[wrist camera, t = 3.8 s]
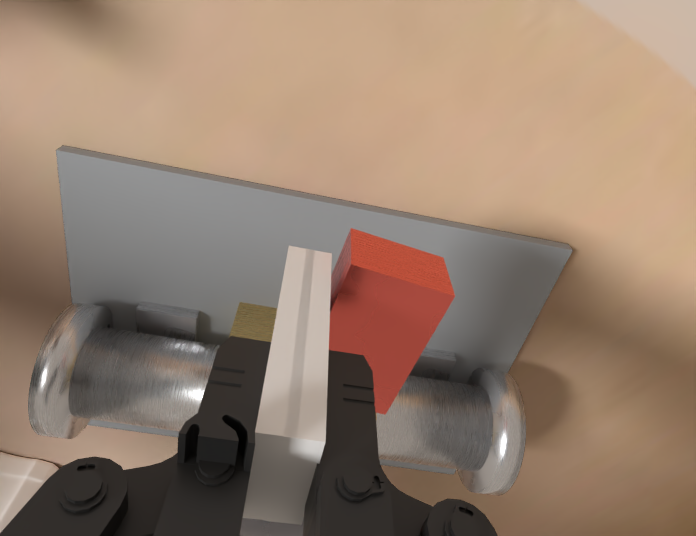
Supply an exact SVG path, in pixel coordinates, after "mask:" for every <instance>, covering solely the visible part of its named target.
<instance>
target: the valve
mask: <svg viewBox="0 0 696 536" xmlns="http://www.w3.org/2000/svg"><path fill="white" fill-rule="evenodd" d="M276 314H277V308H273V307H267V306H261V305H255V304H249V303H243V302H239V306H238V309H237V312H236V315H235V319H234V322H233V325H232V329H231V332H230V335H229V337H230V336H235V337H241V338H248V339H254V340H261V341H267V342H271V341H272V336H273V330H274V325H275V319H276ZM198 326H199V310H193V309H187V308H181V307H175V306H169V305H163V304H157V303H151V302H145V301H141V302H140V303H139V305H138V307H137V309H136V329H137V332H132V331H126V330H119V329H113V324H112V313H111V311H110V310H109V308H107V307H103V306H97V305H90V304H84V303H74V304H71V305H70V306H68V307H67V308H66V309H65V310H64V311H62V313H61V314H60V315H59V316H58V317H57V319H56V320H55V322H54V323H53V325H52V326H51V328H50V330H49V331H48V333H47V335H46V337H45V339H44V342H43V344H42V346H41V349H40V351H39V354H38V356H37V360H36V363H35V366H34V370H33V374H32V378H31V383H30V389H29V399H28V413H29V420H30V424H31V426H32V428H33V430H34V431H35V433H37V434H38V435H42V436H50V437H57V438H65V439H72V438H74V437H76V436H77V435H79V434H80V433H81V432H82V431H83V429H84V428H85V427H86V426H87V424H88V423H89V421H90V420H91V419H93V420H101V421H108V422H115V423H122V424H130V425H137V426H144V427H152V428H159V429H166V430H174V431H180V430H181V428H182V427H183V425H184V423H185V422H186V421H187V420H189V419H190V418H191V417H193V416H194V415H195V414H197V413H198V410H199V407H200V404H201V401H202V397H203V394H204V391H205V388H206V385H207V383H208V378H209V375H210V372H211V369H212V365H213V362H214V359H215V356H216V352H217V349H218V348H219V347H220V346H221V345H214V344H208V343H202V342H197V341H198ZM455 363H456V358H455V354H454V352H448V351H442V350H436V349H430V348H425V349H424V350H423V352H422V354H421V355H420V357H419V359H418V360H417V362H416V364H415V365H414V367H413V369H412V371H411V372H410V374H409V376H408V377H407V379H406V381H405V382H404V384H403V386H402V388H401V389H400V391H399V393H398V394H397V396H396V398H395V399H394V401H393V403H392V404H391V406H390V408H389V410H388V411H387V413H386V415H384V414H380V413H376V425H377V440H378V454H379V459H385V460H393V461H400V462H407V463H414V464H422V465H429V466H436V467H444V468H451V469H457V470H458V473H459V476H460V478H461V481H462V483H463V484H464V486H465V487H466V488H467V489H468V490H469V491H471V492H474V493H481V494H489V495H498V496H499V495H502V494H504V493H506V492H507V491H508V490H509V489H510V488H511V486H512V485H513V484H514V482H515V480H516V478H517V476H518V473H519V470H520V467H521V464H522V460H523V455H524V449H525V440H526V418H525V409H524V403H523V399H522V395H521V392H520V389H519V387H518V385H517V383H516V381H515V380H514V378H513V377H512V376H511V375H510V374H508V373H507V372H504V371H498V370H492V369H486V368H477V369H475V370H474V371H473V372H472V374H471V376H470V378H469V380H468V382H467V384H462V383H456V382H449V381H448V379H449V377H450V375H451V372H452V370H453V368H454V366H455Z"/></svg>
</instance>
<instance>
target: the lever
mask: <svg viewBox="0 0 696 536" xmlns="http://www.w3.org/2000/svg"><path fill="white" fill-rule="evenodd" d="M454 298H455V294H454V290H453V287H452V284H451V281H450V277H449V274H448V271H447V267H446V264H445V261H444V258H443V257H440V256H437V255H434V254H431V253H428V252H424V251H421V250H418V249H415V248H412V247H409V246H406V245H403V244H400V243H396V242H393V241H390V240H387V239H384V238H381V237H378V236H375V235H371V234H368V233H365V232H362V231H359V230H356V229H353V228H351V229H350V231H349V234H348V236H347V238H346V241H345V243H344V246H343V248H342V251H341V253H340V255H339V258H338V260H337V263H336V265H335V267H334V270H333V272H332V275H331V295H330V325H329V350H333V351H339V352H346V353H353V354H359V355H364V357H365V359H366V360H367V362H368V364H369V366H370V367H371V369H372V371H373V383H374V390H373V392H374V397H375V404H374V406H375V411H376V413H380V414H384V415H386V413H387V411H388V410H389V408H390V406H391V404H392V403H393V401H394V399H395V398H396V396H397V394H398V393H399V391H400V389H401V388H402V386H403V384H404V382H405V381H406V379H407V377H408V376H409V374H410V372H411V371H412V369H413V367H414V365H415V364H416V362H417V360H418V359H419V357H420V355H421V354H422V352H423V350H424V349H425V347H426V345H427V343H428V342H429V340H430V338H431V337H432V335H433V333H434V332H435V330H436V328H437V326H438V325H439V323H440V321H441V320H442V318H443V316H444V315H445V313H446V311H447V310H448V308H449V306H450V304H451V303H452V301H453V299H454ZM303 526H304V518H303V522H302V525H299V524H290V523H280V522H271V521H266V520H257V519H248V518H242V524H241V529H240V535H239V536H303Z"/></svg>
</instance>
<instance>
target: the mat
mask: <svg viewBox="0 0 696 536" xmlns="http://www.w3.org/2000/svg"><path fill="white" fill-rule="evenodd" d="M56 155H57V164H58V174H59V183H60V193H61V203H62V212H63V222H64V231H65V241H66V250H67V260H68V269H69V279H70V288H71V298H72V304H74V303H84V304H90V305H97V306H103V307H107V308H109V310H110V311H111V313H112V324H113V329H119V330H126V331H132V332H137V329H136V309H137V307H138V305H139V303H140V302H141V301H145V302H151V303H157V304H163V305H169V306H175V307H181V308H187V309H193V310H199V326H198V341H197V342H202V343H208V344H214V345H222V344H223V343H224V342H225V341H226V340H227V339H228V338H229V335H230V332H231V329H232V325H233V322H234V319H235V315H236V312H237V309H238V306H239V302H243V303H249V304H255V305H261V306H267V307H273V308H278V303H279V297H280V292H281V286H282V281H283V275H284V270H285V264H286V259H287V253H288V248H289V246H294V247H299V248H305V249H310V250H315V251H321V252H327V253H332V265H331V275H332V272H333V270H334V267H335V265H336V263H337V260H338V258H339V255H340V253H341V251H342V248H343V246H344V243H345V241H346V238H347V236H348V234H349V231H350V229H351V228H353V229H356V230H359V231H362V232H365V233H368V234H371V235H375V236H378V237H381V238H384V239H387V240H390V241H393V242H396V243H400V244H403V245H406V246H409V247H412V248H415V249H418V250H421V251H424V252H428V253H431V254H434V255H437V256H440V257H443V258H444V261H445V264H446V267H447V271H448V274H449V277H450V281H451V284H452V287H453V290H454V294H455V298H454V299H453V301H452V303H451V304H450V306H449V308H448V310H447V311H446V313H445V315H444V316H443V318H442V320H441V321H440V323H439V325H438V326H437V328H436V330H435V332H434V333H433V335H432V337H431V338H430V340H429V342H428V343H427V345H426V347H425V348H430V349H436V350H442V351H448V352H454V354H455V358H456V363H455V366H454V368H453V370H452V372H451V375H450V377H449V379H448V381H449V382H456V383H462V384H467V382H468V380H469V378H470V376H471V374H472V372H473V371H474V370H475V369H477V368H486V369H492V370H498V371H504V372H507V373H508V371H509V369H510V368H511V366H512V364H513V362H514V360H515V358H516V356H517V354H518V352H519V351H520V349H521V347H522V345H523V343H524V341H525V339H526V337H527V336H528V334H529V332H530V330H531V328H532V326H533V324H534V322H535V321H536V319H537V317H538V315H539V313H540V311H541V309H542V307H543V305H544V304H545V302H546V300H547V298H548V296H549V294H550V292H551V290H552V289H553V287H554V285H555V283H556V281H557V279H558V277H559V275H560V273H561V272H562V270H563V268H564V266H565V264H566V262H567V260H568V258H569V257H570V255H571V253H572V251H573V250H572V249H571V247H570V246H569V245H568V244H565V243H560V242H555V241H549V240H544V239H539V238H534V237H529V236H524V235H519V234H514V233H508V232H503V231H498V230H493V229H488V228H483V227H478V226H473V225H468V224H462V223H457V222H452V221H447V220H442V219H437V218H432V217H427V216H422V215H416V214H411V213H406V212H401V211H396V210H391V209H386V208H381V207H375V206H370V205H365V204H360V203H355V202H350V201H345V200H340V199H335V198H329V197H324V196H319V195H314V194H309V193H304V192H299V191H294V190H289V189H283V188H278V187H273V186H268V185H263V184H258V183H253V182H248V181H242V180H237V179H232V178H227V177H222V176H217V175H212V174H207V173H202V172H196V171H191V170H186V169H181V168H176V167H171V166H166V165H161V164H156V163H150V162H145V161H140V160H135V159H130V158H125V157H120V156H115V155H110V154H104V153H99V152H94V151H89V150H84V149H79V148H74V147H69V146H63V145H62V146H61V147H60V148H58V149H57V150H56ZM87 425H92V426H99V427H106V428H114V429H121V430H128V431H136V432H143V433H151V434H158V435H165V436H173V437H178V435H179V432H180V431H174V430H166V429H159V428H152V427H144V426H137V425H130V424H122V423H115V422H108V421H101V420H93V419H91V420H90V421H89V423H88V424H87ZM379 461H380V465H387V466H394V467H401V468H409V469H416V470H423V471H431V472H438V473H445V474H453V475H454V473H455V471H456V469H451V468H444V467H436V466H429V465H422V464H414V463H407V462H400V461H393V460H385V459H379Z"/></svg>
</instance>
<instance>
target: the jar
mask: <svg viewBox="0 0 696 536" xmlns="http://www.w3.org/2000/svg"><path fill="white" fill-rule="evenodd" d="M57 470H59V468H58V467H57V466H56V465H54V464H53V463H50V462H46V461H43V460H39V459H32V458H25V457H20V456H15V455H10V454H7V453H3V452H0V533H1V532H2V530H3V529H4V528H5V527H6V526H7V525H8V524H9V523H10V521H11V520H12V519H13V518H14V517H15V516H16V515H17V513H18V512H19V511H20V510H21V509H22V508H23V507H24V505H25V504H26V503H27V502H28V501H29V500H30V499H31V497H32V496H33V495H34V494H35V493H36V492H37V491H38V489H39V488H40V487H41V486H42V485H43V484H44V483H45V481H46V480H47V479H48V478H49V477H50V476H51V475H53V474H54V473H55V472H56V471H57Z"/></svg>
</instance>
